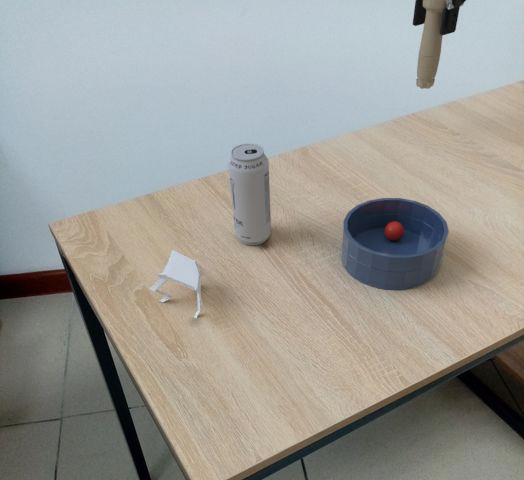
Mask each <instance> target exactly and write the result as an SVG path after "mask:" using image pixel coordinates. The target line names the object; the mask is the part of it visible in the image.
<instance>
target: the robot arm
mask: <svg viewBox="0 0 524 480" xmlns="http://www.w3.org/2000/svg"><path fill="white" fill-rule="evenodd" d="M466 1H467V0H446V5H447V8H445V9H444V10H443V14H442V20H441V26H440V35H443V36H445V35H449V34H453V33H455V32H456V30H457V24H458V18H459V13H460V8H461V7H463V6H464V4H465V2H466ZM413 11H414V12H413V17H412V18H413V19H412V26H414V27H417V26H421V25H424V23H425V18H426V11H427V10H426V8H424V7H423V0H415V2H414V8H413Z"/></svg>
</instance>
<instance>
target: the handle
mask: <svg viewBox="0 0 524 480" xmlns="http://www.w3.org/2000/svg"><path fill="white" fill-rule="evenodd" d="M423 7H424V8H426V10H427V11H426V18H425V23H424V24H423V29H422V34H421V38H420V39H421V40H420V45H419V50H418V55H417V56H418V57H417V64H416V65H417V66H416V67H417V68H416V80H415V85H416V87H418V88H419V89H422V90H423V89H426V90H427V89H430V88H431V87H434V84H435V81H436V75H437V73H438V68H439V63H440V59H441V53H442V44H443V36H444V35H440V26H441V20H442V14H443V10H444V9H445V8H447V5H446V0H423Z"/></svg>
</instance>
